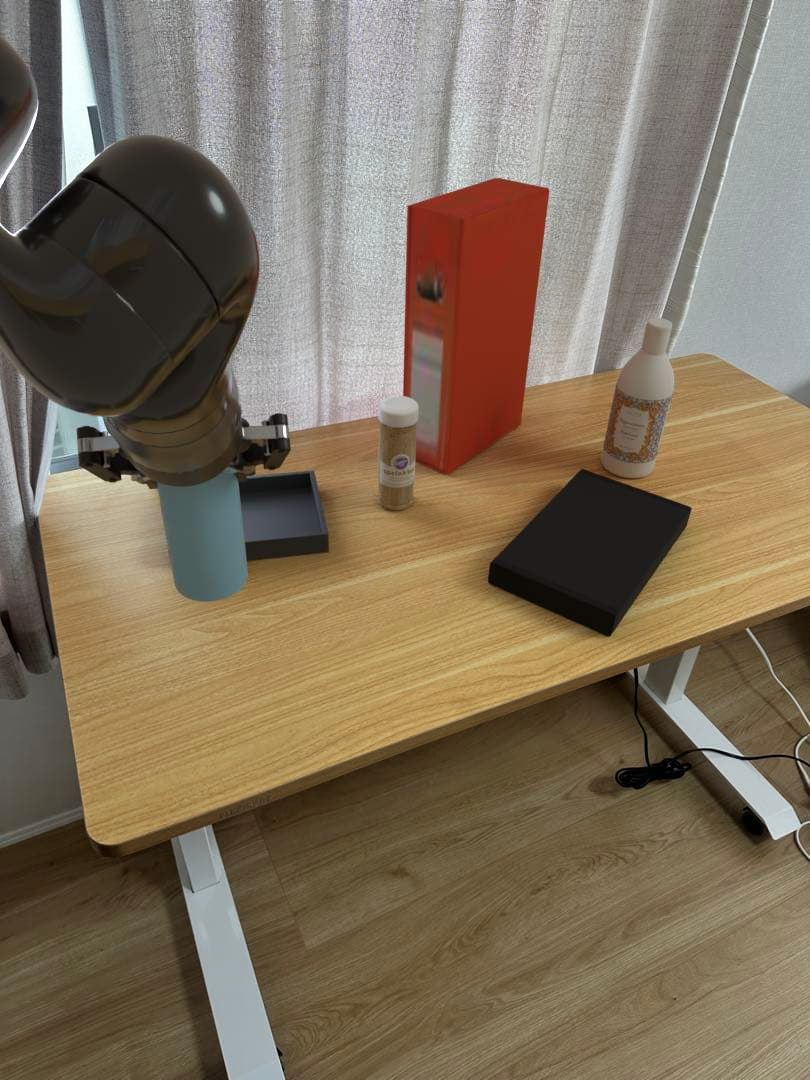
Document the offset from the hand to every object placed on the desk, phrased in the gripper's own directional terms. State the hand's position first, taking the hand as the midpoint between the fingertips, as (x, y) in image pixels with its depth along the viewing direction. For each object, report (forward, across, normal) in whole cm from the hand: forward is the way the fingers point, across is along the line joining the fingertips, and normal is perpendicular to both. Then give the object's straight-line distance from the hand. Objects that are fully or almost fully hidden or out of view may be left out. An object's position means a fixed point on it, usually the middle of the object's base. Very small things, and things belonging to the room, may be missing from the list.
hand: (197, 472), depth 63 cm
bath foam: (+35, -53, -4) cm, 64 cm away
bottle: (+5, 0, +8) cm, 9 cm away
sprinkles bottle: (+33, -21, -2) cm, 39 cm away
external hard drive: (+23, -41, +8) cm, 48 cm away
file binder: (+42, -33, -11) cm, 55 cm away
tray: (+31, -3, -1) cm, 32 cm away
